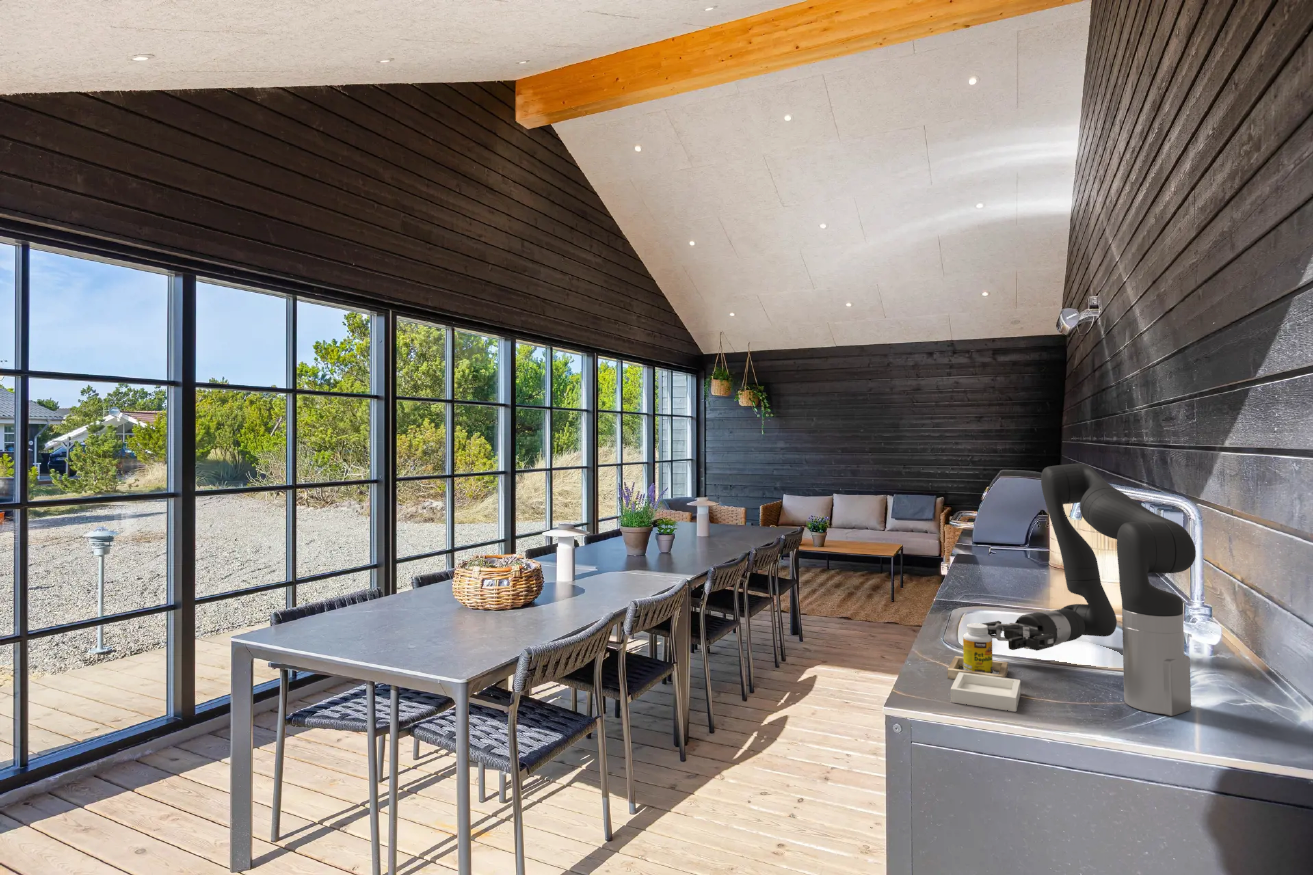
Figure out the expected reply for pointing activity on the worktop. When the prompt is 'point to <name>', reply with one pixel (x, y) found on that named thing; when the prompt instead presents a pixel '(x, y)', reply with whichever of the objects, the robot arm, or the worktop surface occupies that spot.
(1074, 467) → the robot arm
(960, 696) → the parts tray
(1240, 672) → the worktop surface
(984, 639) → the supplement bottle
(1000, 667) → the square wooden frame
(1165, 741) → the worktop surface
